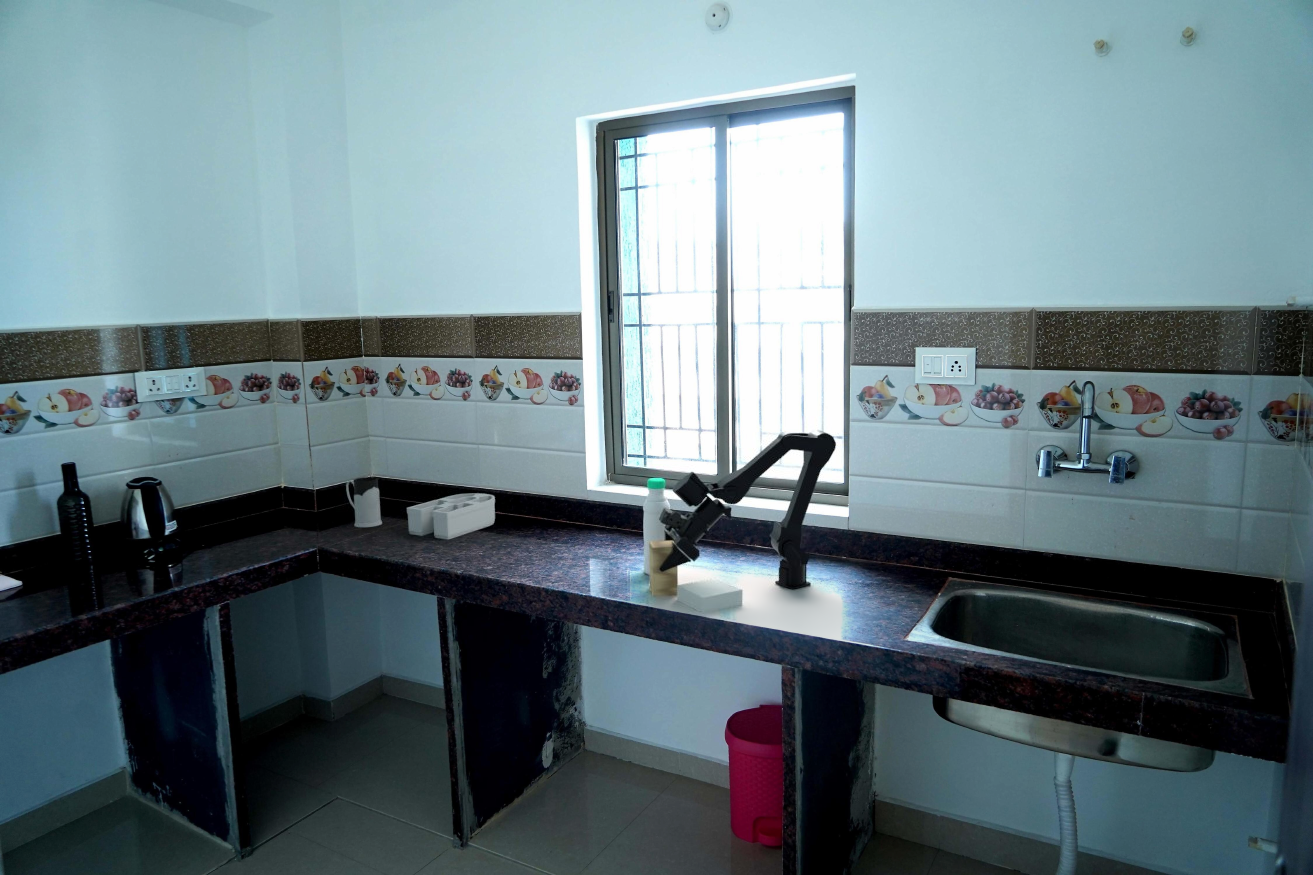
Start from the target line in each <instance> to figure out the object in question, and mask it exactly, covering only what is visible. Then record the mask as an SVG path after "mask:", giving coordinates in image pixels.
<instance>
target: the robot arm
mask: <svg viewBox="0 0 1313 875" xmlns="http://www.w3.org/2000/svg"><path fill="white" fill-rule="evenodd" d="M836 447H837V442H836V440H835V438H834V436H832V435H831V434H830V433H828V432H825V431H822V430H819V429H818V430H812V431H811V432H788V431H784V432H781V433H779V434H778V435H777V437H776V438H775V439H774V440H773V441H772V442H770V443H769V444H768V445H767V446H766V447H765V448H763V449H762V450H761V451H760V452H759V453H757V454H756V455H755V456H754V457H753V458H752V459H751V460H750V461H748V462H747V463H746V464H745V465H744V466H743V467H741V468H739V469H737V470H735V471H733V472H729V473H728V474H726V475H725V476H724V477H722V478H721V479H720V480H718V481H717V482H713V483H712V482H711V483H706V484H705V483H704V482H703V481H702V480H701V479H700V478H699V476H698V475H697V474H696V473H695V472H694V471H691V472H690V473H688V474H686V475H685V476H684V477H682V478H680V479H679V480H678V481H677V482H676V484H675V485H674V486H673V489H672V492H673V493H674V494H675V495H676V496H678V498H679V499H680V500H681V501H683V503H684V504H686V505H687V506H688V507H696V508H695V509H694V510H693V511H692V512H686V514H684V515H683V514H681V513H680V512H677V511H676V510H671V509H670V510H669V509H667V508H664V509H663V511H662V513H661V515H660V518H659V520H660V522H661V523H663V524H665V525H666V526H665V529H666V530H667V532H666V531H665V530H664V538H665V539H664V541H670V540H673V541H674V543H675V544H676V545H677V546H676V545H675V544H674V543H673V542H672V551H671V552H670V554H669V555H668V556H667V558H666V559H665V561H664V562H663V563H662V565H661V566H660V568H659V570H660V571H661V572H663V571H666V570H668V569H671V568H673V567H676V566H677V567H678V566H681V565H683V564H687V563H691V562H696V560H698V559H699V558H700V549H699V548H698V547H697V546H698V543H697V542H698V541H699V540H700V539H702V537H703V536H704V535H706V536H707V535H709V534H710V532H709V530H710V529H711V527H713V525H715V523H717V521H718V520H719V519H720V518H722V516H723V515H724V516H725V517H726V518H727V519H729V520H731V519H732V507H731V506H729V505H736V504H738V503H739V502H741V501H742V500H743V498H744V497H745V496H746V495H747V493H749V491H750V489H751V487H752V485H753V484H754V483H755V481H756V480H758V479H759V478H760V477H761V476H762V475H763V474H765V473H766V472H767V471H768V470H769V469H770V468H771V467H772V466H774V465H775V464H776V463H777V462H779V460H781V459H782V458H783V457H784V456H785V455H786V454H787V453H789V452H790V451H791V450H792V451H802V452H803V464H802V468H801V470H800V474H799V475H798V478H797V482H796V485H795V488H794V490H793V494H792V496H791V499H790V502H789V504H788V508H787V510H786V514H785V516H784V518H782V520H781V522H778V521H776V520H775V521H774V523H773V529H772V531H771V533H770V534H769V537H771V540H770V544H771V546H772V548H773V549H774V550H775V551H776V552H777V553H778V556H779V557H780V558H782V559H781V560H779V567H778V580H776V581H775V582H774V583H775V585H778V586H781V587H784V588H788V589H790V590H796V589H800V588H803V587H804V588H805V587H808V586H811V585H812V583H811V582H809V581H807V566H808V565H807V564H808V563H809V561H810V558H811V557H810V555H809V554H808V553H807V552H805V551H804V549H802V540H803V523H804V520H805V517H806V513H807V512H808V507H809V506H810V503H811V499H812V497H813V493H814V492H815V488H816V485H817V482H818V479H819V477H820V474H821V472H822V469H824V468H825V466H826V465H827V463H829V461H830V459H831V458H832V456H833V454H834V453H835V450H836ZM708 494H710V496H712V497H713V498H714V500H713V499H712V498H711V497H710V496H709V495H708ZM720 500H722V501H723V502H724V503H726V504H728V506H727V505H725V504H723V502H722V501H720Z"/></svg>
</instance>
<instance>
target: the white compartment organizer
mask: <svg viewBox="0 0 1313 875" xmlns="http://www.w3.org/2000/svg"><path fill="white" fill-rule="evenodd" d="M495 498H496V497H495V495H493V494H489V493H488V494H487V493H479V492H477V493H459V494H454V495H449V496H445V497H442V498H439V499H434V500H431V501H427V502H423V503H420V504H416V505H413V506H409V507H406V513H407V519H408V520H407V521H408V523H407V524H408V532H409V534H410V535H415V536H421V537H423V536H427V535H429V534H432V533H433V536H434V538H437V539H442V540H451V539H454V538H457V537H460V536H464V535H465V534H469V533H472V532H475V531H478V530H481V529H485V528H487V527H490V526H492V525H494V523H495V519H496V511H495V510H496V509H495V503H496V499H495Z"/></svg>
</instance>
